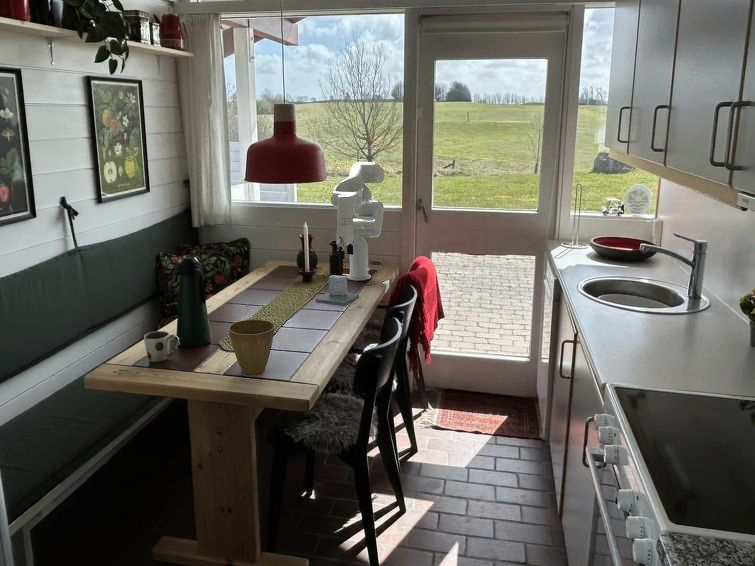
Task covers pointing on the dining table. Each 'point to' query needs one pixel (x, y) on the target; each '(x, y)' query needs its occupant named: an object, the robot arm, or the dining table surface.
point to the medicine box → (338, 285)
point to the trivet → (337, 298)
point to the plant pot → (252, 344)
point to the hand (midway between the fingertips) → (345, 256)
